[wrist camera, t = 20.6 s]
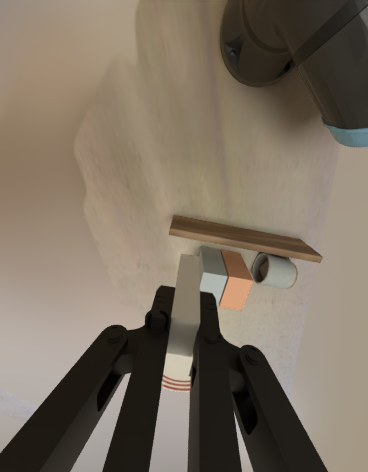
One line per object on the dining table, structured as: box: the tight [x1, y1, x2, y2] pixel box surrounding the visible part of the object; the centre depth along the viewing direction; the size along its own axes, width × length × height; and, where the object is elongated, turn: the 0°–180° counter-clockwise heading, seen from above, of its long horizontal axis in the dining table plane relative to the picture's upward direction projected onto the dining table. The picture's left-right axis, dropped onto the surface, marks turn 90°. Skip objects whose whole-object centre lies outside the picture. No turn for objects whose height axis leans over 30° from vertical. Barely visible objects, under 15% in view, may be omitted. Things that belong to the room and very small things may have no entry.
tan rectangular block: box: [219, 250, 253, 311], centre depth 46 cm, size 8×5×12 cm, turn 169°
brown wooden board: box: [169, 215, 323, 263], centre depth 44 cm, size 1×32×9 cm, turn 79°
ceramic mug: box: [252, 253, 298, 289], centre depth 47 cm, size 11×8×8 cm
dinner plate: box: [161, 353, 193, 392], centre depth 66 cm, size 28×27×3 cm
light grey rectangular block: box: [199, 246, 228, 307], centre depth 46 cm, size 8×5×12 cm, turn 169°
